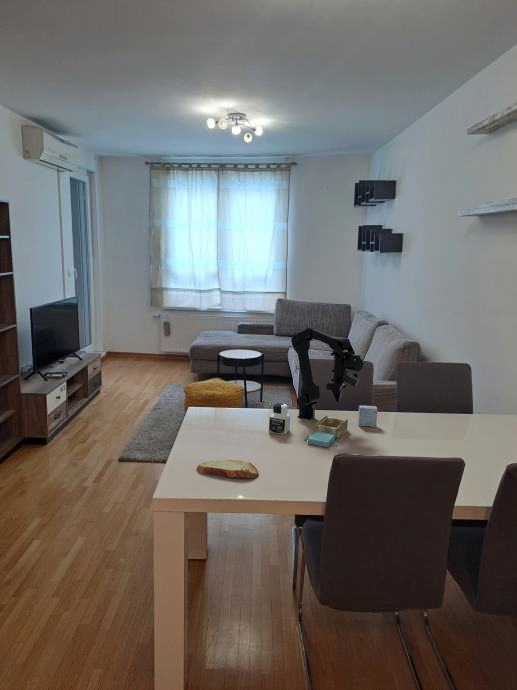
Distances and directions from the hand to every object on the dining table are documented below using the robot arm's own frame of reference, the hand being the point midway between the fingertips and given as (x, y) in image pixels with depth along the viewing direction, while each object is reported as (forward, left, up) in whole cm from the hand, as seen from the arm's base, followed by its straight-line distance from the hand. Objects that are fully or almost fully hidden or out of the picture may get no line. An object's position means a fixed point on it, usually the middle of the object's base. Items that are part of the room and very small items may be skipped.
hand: (337, 401), depth 229 cm
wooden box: (0, -7, -12) cm, 14 cm away
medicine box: (+11, +11, -12) cm, 20 cm away
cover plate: (0, -20, -12) cm, 23 cm away
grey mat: (0, -19, -12) cm, 23 cm away
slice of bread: (-19, -65, -13) cm, 69 cm away
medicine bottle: (-20, -17, -12) cm, 29 cm away
